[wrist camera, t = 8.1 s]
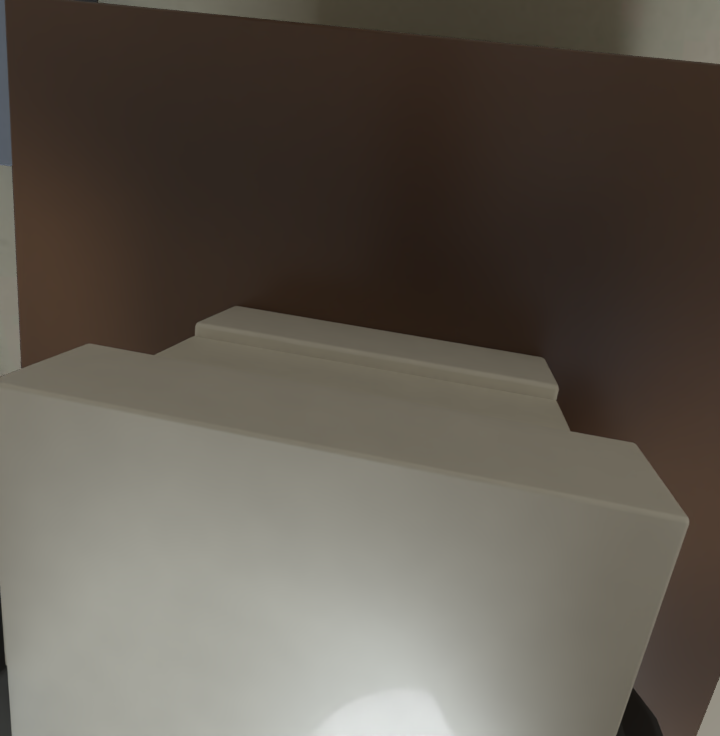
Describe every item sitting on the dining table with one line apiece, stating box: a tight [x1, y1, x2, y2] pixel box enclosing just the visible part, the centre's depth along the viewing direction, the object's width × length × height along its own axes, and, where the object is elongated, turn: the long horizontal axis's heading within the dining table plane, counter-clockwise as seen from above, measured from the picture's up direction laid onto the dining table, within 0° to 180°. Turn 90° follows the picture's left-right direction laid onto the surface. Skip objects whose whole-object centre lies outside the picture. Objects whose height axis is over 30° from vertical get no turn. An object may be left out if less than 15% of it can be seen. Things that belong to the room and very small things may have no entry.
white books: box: [155, 306, 570, 431], centre depth 10 cm, size 9×5×3 cm, turn 172°
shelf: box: [4, 0, 720, 736], centre depth 20 cm, size 18×14×18 cm
